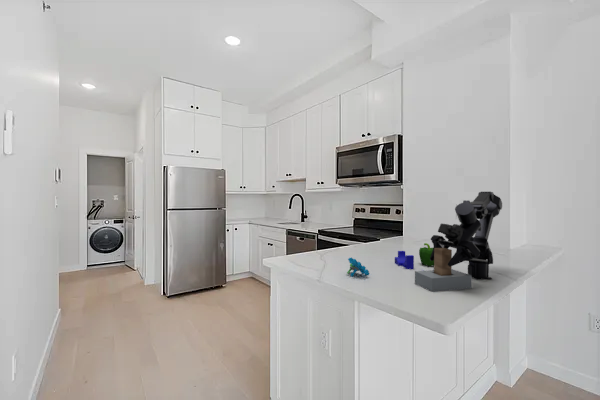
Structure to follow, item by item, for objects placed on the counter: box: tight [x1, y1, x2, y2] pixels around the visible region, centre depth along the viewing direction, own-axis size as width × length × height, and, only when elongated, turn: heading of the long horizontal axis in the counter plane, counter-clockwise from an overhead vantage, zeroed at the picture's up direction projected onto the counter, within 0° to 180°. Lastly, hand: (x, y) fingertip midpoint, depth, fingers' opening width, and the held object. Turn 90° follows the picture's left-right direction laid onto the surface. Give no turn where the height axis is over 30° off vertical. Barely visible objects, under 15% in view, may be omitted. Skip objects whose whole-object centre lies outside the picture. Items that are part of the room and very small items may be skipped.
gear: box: [346, 257, 370, 277], centre depth 120 cm, size 11×6×10 cm
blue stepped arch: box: [394, 250, 415, 270], centre depth 137 cm, size 12×4×6 cm, turn 0°
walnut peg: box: [433, 248, 453, 276], centre depth 106 cm, size 4×4×12 cm
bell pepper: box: [418, 242, 434, 267], centre depth 139 cm, size 8×8×10 cm
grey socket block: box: [414, 268, 473, 293], centre depth 107 cm, size 16×10×4 cm, turn 104°
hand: (439, 262), depth 106 cm, fingers open, 9 cm apart
